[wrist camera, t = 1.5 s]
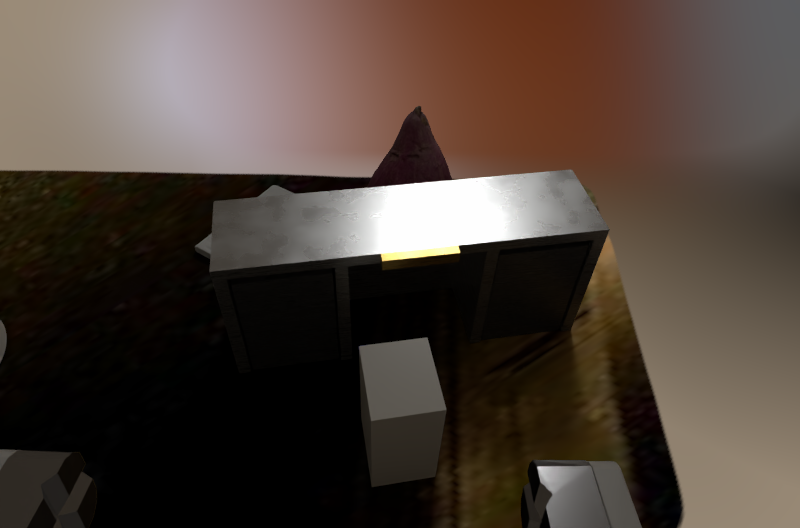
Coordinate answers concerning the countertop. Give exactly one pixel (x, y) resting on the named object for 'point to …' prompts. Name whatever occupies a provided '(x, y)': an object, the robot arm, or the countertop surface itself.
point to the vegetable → (412, 156)
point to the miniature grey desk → (401, 259)
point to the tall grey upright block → (401, 410)
